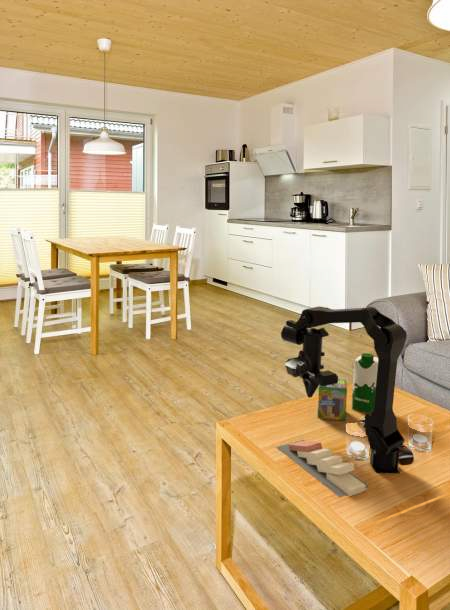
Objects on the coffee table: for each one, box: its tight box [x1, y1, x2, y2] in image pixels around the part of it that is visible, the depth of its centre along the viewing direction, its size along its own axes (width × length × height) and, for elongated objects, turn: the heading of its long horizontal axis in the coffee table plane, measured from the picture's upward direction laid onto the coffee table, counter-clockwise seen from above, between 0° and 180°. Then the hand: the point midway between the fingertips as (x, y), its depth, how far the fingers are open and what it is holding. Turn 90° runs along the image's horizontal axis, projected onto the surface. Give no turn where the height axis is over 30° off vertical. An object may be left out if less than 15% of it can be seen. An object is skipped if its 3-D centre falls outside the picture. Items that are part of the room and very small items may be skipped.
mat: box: [275, 439, 371, 498], centre depth 138 cm, size 28×10×1 cm, turn 29°
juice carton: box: [317, 378, 348, 422], centre depth 170 cm, size 9×9×15 cm
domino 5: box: [326, 472, 366, 497], centre depth 129 cm, size 2×5×9 cm
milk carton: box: [351, 352, 378, 413], centre depth 175 cm, size 9×9×20 cm
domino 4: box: [317, 462, 355, 475], centre depth 132 cm, size 2×5×9 cm
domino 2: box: [297, 447, 333, 459], centre depth 140 cm, size 2×5×9 cm
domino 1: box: [288, 440, 323, 452], centre depth 144 cm, size 2×5×9 cm
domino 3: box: [307, 454, 343, 467], centre depth 136 cm, size 2×5×9 cm
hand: (309, 397), depth 155 cm, fingers closed
